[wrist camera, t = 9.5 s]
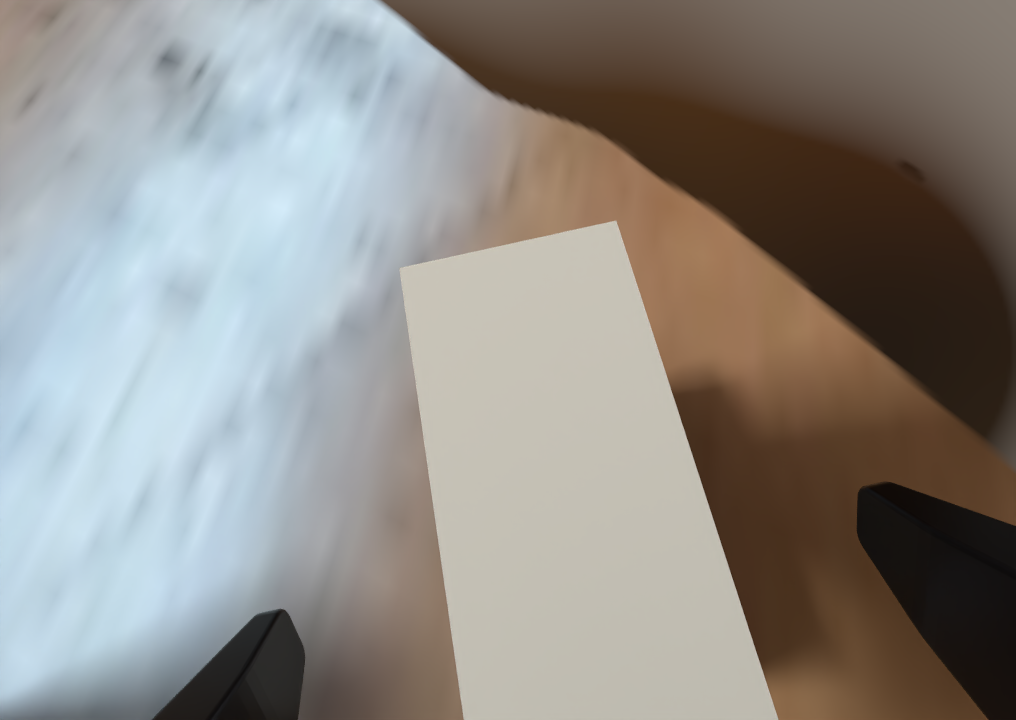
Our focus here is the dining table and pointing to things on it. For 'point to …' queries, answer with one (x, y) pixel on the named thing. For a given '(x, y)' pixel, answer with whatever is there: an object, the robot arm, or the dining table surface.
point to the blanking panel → (570, 494)
